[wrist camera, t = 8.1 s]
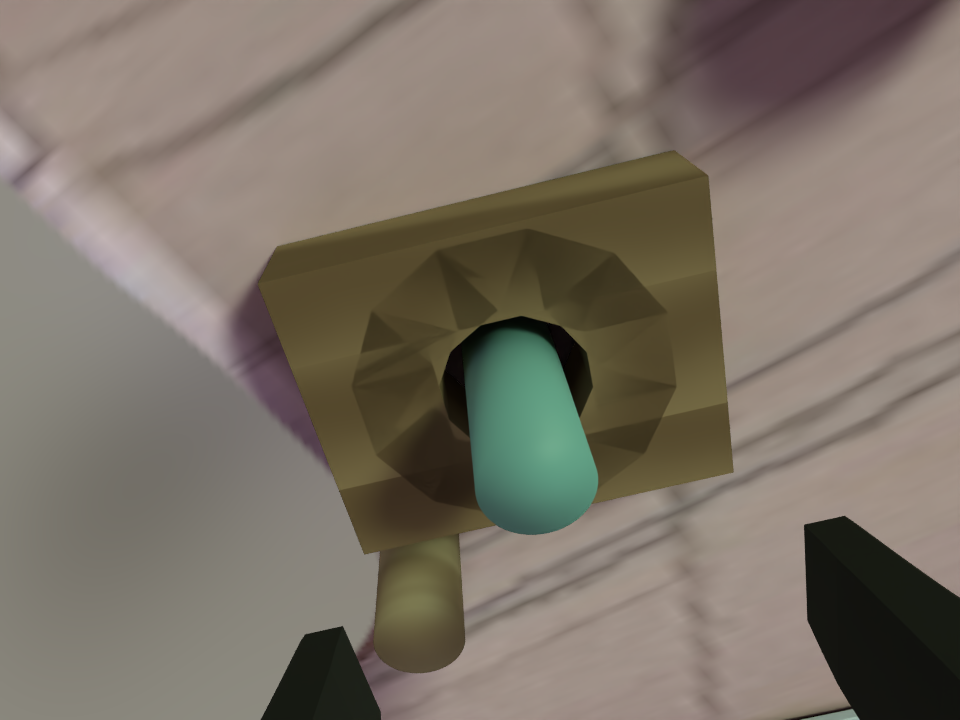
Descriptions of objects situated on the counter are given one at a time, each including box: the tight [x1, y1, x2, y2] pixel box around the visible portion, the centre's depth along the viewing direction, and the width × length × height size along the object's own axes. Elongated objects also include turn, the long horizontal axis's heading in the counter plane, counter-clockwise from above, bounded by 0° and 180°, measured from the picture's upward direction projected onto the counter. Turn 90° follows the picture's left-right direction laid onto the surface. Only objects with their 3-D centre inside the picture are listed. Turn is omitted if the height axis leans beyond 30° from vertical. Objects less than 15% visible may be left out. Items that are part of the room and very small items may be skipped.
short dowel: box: [373, 534, 465, 673], centre depth 22 cm, size 2×2×4 cm
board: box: [258, 150, 733, 554], centre depth 19 cm, size 8×10×2 cm
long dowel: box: [461, 316, 598, 535], centre depth 18 cm, size 2×2×6 cm
